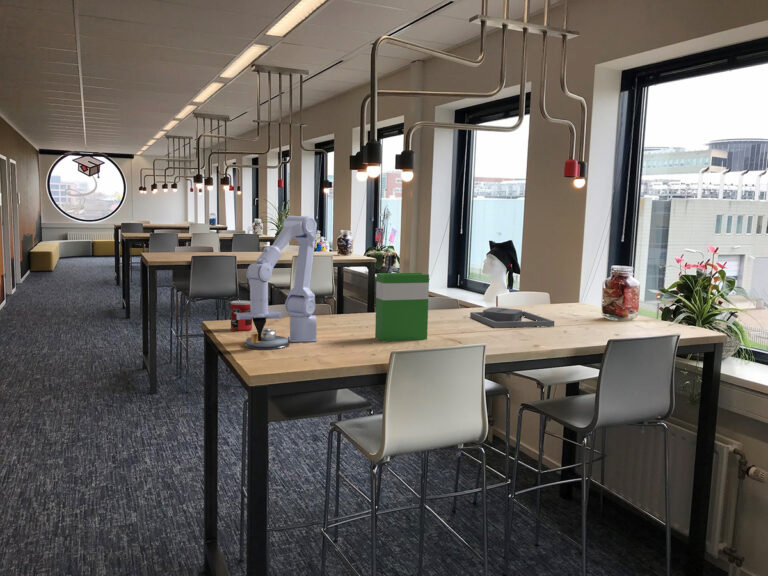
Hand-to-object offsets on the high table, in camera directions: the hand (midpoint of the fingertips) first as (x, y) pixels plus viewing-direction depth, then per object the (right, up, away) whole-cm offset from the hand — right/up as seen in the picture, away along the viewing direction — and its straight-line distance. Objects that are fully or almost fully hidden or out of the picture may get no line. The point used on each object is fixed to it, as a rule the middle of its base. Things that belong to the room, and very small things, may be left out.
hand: (259, 340), depth 206 cm
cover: (+1, 0, +7) cm, 7 cm away
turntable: (+1, -2, +7) cm, 7 cm away
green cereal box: (+48, -2, +24) cm, 53 cm away
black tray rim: (+97, +2, +67) cm, 118 cm away
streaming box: (+93, +2, +68) cm, 115 cm away
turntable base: (+1, -2, +7) cm, 7 cm away
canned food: (-14, +1, +33) cm, 36 cm away
